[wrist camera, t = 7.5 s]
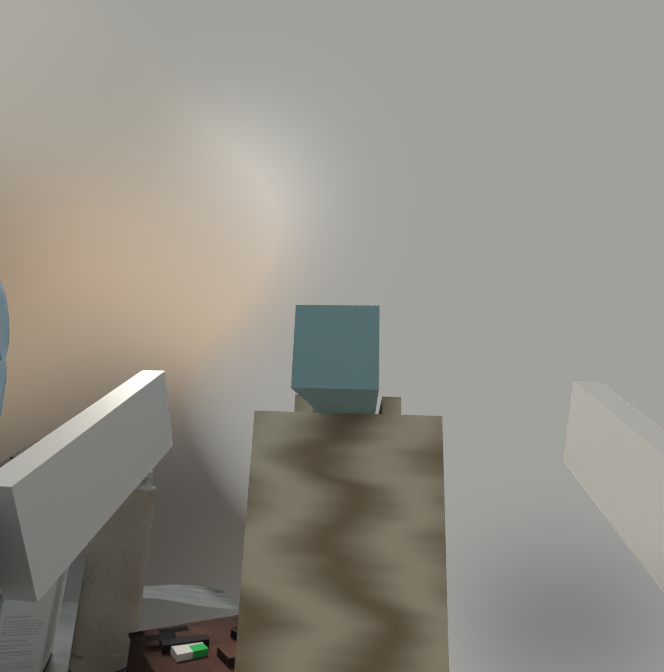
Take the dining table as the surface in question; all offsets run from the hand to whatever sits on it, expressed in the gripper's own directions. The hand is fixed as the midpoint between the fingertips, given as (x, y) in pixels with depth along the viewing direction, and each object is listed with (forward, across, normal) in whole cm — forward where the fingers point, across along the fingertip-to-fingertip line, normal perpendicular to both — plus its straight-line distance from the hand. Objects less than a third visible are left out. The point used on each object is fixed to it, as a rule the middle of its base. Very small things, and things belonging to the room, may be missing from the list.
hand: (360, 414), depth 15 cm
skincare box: (+28, -44, -50) cm, 72 cm away
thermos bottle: (+30, -35, -52) cm, 70 cm away
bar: (+11, -1, -6) cm, 13 cm away
